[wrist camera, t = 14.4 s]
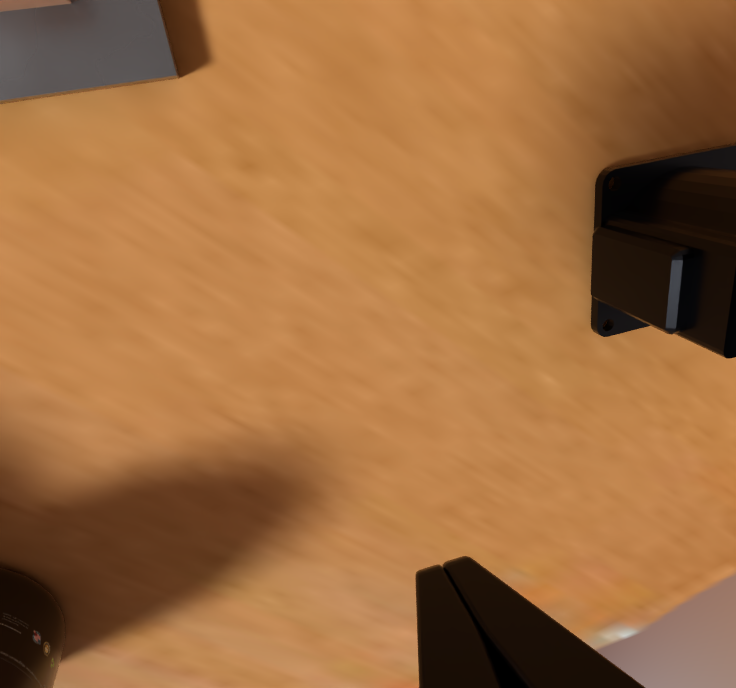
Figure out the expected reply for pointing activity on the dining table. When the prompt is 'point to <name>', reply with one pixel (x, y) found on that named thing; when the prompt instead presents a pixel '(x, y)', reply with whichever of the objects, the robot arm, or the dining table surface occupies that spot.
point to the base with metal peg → (82, 48)
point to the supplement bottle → (28, 633)
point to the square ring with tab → (29, 4)
